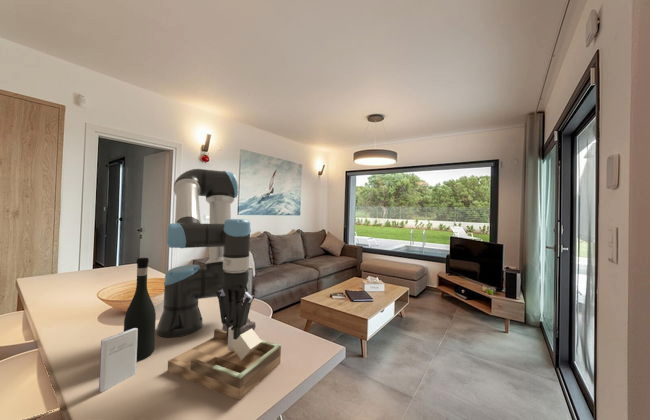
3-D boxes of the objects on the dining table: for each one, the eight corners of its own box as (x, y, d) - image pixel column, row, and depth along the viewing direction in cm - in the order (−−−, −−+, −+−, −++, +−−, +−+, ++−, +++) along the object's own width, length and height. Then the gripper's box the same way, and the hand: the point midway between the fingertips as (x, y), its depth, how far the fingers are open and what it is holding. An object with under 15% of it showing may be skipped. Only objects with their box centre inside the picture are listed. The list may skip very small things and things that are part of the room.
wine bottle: (116, 359, 78) (120, 258, 79) (142, 346, 86) (146, 255, 86) (134, 365, 75) (138, 261, 76) (160, 351, 83) (164, 257, 83)
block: (241, 360, 74) (231, 346, 76) (253, 352, 79) (243, 338, 80) (250, 349, 73) (240, 334, 75) (261, 341, 77) (251, 328, 79)
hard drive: (98, 391, 64) (100, 340, 65) (132, 372, 72) (134, 327, 72) (102, 392, 64) (104, 341, 64) (136, 374, 71) (138, 328, 72)
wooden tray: (167, 371, 73) (168, 350, 73) (215, 344, 88) (216, 327, 88) (239, 402, 62) (240, 377, 62) (280, 365, 78) (281, 345, 78)
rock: (247, 337, 93) (247, 324, 93) (219, 334, 95) (219, 321, 96) (258, 328, 101) (258, 315, 101) (232, 325, 103) (232, 313, 104)
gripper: (209, 269, 78) (206, 349, 78) (244, 275, 73) (241, 360, 72) (228, 265, 85) (225, 338, 85) (261, 270, 79) (258, 348, 79)
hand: (232, 348), depth 79 cm, fingers closed
